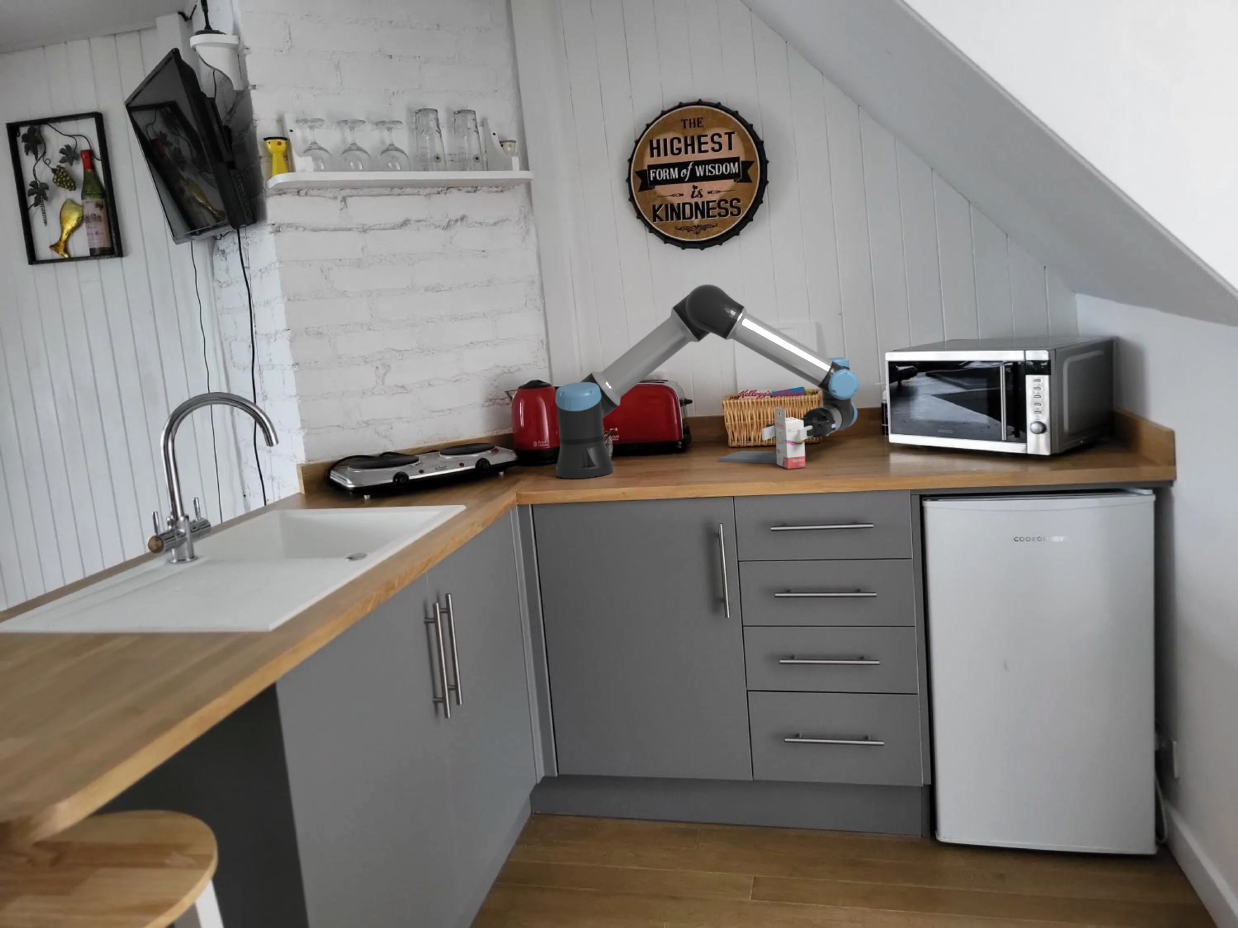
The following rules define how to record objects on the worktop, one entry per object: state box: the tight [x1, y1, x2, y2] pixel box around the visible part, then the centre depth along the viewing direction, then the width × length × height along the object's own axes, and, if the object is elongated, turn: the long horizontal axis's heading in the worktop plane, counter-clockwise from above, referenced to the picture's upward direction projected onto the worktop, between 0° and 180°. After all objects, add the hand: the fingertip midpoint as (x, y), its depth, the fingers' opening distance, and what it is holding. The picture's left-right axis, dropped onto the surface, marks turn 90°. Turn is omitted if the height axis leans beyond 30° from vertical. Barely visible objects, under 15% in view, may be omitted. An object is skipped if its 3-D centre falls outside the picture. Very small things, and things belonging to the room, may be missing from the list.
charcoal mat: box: [718, 450, 777, 464], centre depth 280 cm, size 18×12×1 cm, turn 54°
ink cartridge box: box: [774, 406, 807, 470], centre depth 263 cm, size 9×5×15 cm, turn 10°
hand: (780, 435), depth 259 cm, fingers closed on ink cartridge box, 9 cm apart
